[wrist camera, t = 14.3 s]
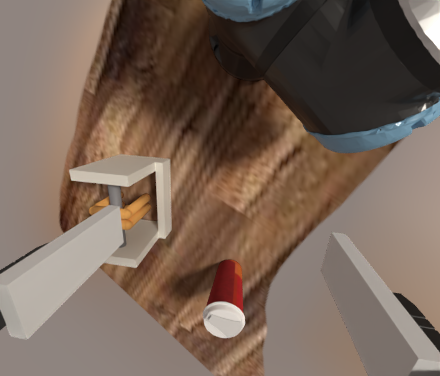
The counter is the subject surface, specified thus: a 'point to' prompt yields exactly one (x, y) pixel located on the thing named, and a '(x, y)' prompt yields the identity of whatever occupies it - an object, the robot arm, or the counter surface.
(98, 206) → the cord hank
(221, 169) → the counter surface
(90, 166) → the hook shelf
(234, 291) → the coffee cup
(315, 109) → the robot arm
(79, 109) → the counter surface
